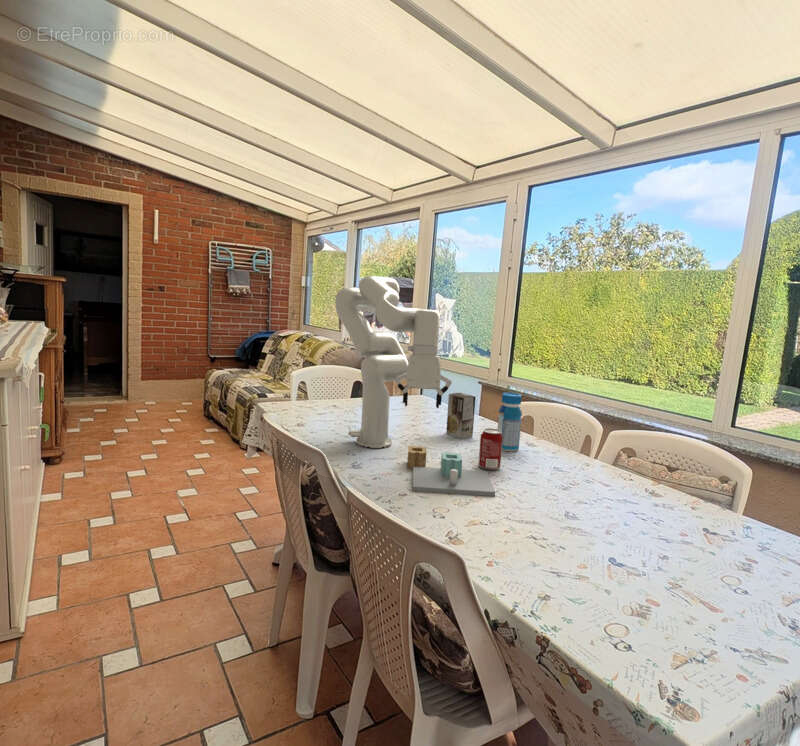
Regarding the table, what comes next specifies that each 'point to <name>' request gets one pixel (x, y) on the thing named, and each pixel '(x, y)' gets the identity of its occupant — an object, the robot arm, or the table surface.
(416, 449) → the oak gear
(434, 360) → the robot arm
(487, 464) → the soda can
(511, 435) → the beverage bottle
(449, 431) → the coffee box
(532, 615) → the table surface
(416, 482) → the board
